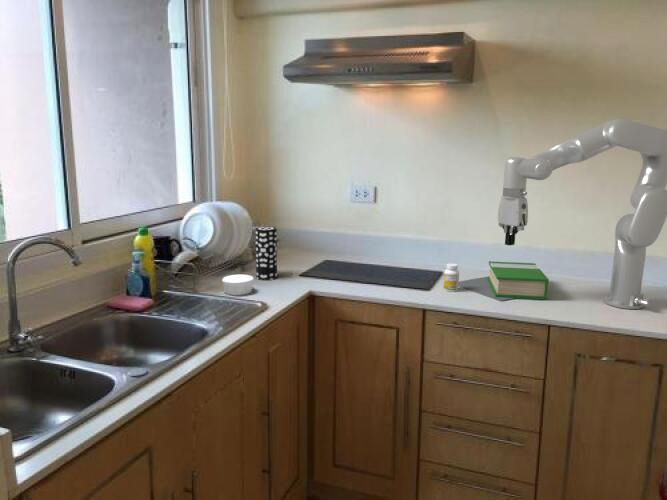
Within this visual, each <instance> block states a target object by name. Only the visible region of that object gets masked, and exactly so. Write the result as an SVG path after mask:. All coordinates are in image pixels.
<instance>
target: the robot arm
mask: <svg viewBox="0 0 667 500" xmlns="http://www.w3.org/2000/svg"><path fill="white" fill-rule="evenodd" d="M615 147H621V148H624V149H627V150H631V151H634V152H638V153H639V154H640V156H641V158H642V166H641V170H640V171H639V172H640V173H639V176H638V177H637V178H638V179H637V181H636V183H635V185H634V188H633V190H632V193H631V195H630V200H629V201H630V205H631V206H632V207H633V208H634V210H635V211H634V213H629V214H625V215H622V216H621V217H620V218H619V219H618V221H617V223H616V225H615V232H614V236H615V237H614V238H615V239H614V240H615V243H614V256H613V263H612V270H611V271H612V273H611V279H610V287H609V295H606V296H604V297H603V302H604V303H605V304H607V305H608V306H610V307H615V308H620V309H624V310H625V309H626V310H639V309H643V308H644V307H649V305H650V303H651V299H648V298H644V293H642V292H641V291H642V286H643V277H644V269H645V263H646V255H647V254H646V253H647V247H650V246H651V245H653V244H654V243H655V242H656V241H657V239H658V238H659V236H660V233H661V231H662V229H663V227H664V224H665V222H666V220H667V189H666V186H667V130H666V129H664V128H660V127H656V126H651V125H648V124H644V123H641V122H640V123H639V122H637V121H633V120H629V119H624V118H621V119H619V118H616V119H611V120H608V121H606V122H604V123H601V125H598V126H596V127H594V128H591V129H590V130H588V131H586V132H583V133H582V134H579V135H577V136H575V137H573V138H571V139H568V140H567V141H566V140H565V141H564V142H562V143H560V144H558V145H556V146H554V147H553V146H552V147H551V148H549V149H547V150H544V151H542V152H540V153H538V154H536V155H534V156H532V157H531V158H526V157H520V156H517V157H516V156H513V157H510V156H509V157H507V158H506V160H505V163H504V171H503V173H504V174H503V186H502V196H500V201H499V205H498V211H497V222H498V226H499V227H501V228H502V229H503V232H504V234H505V239H504V245H506V246H514V245H515V244H516V243H515V242H516V235H517V234H518V232H519V231H525V227H526V226H527V225H528V220H529V205H528V198H527V197H526V196H527V195H528V192H527V191H526V188H527V181H528V180H527V179H529V180H535V181H544V180H546V179H548V178H549V177H551V174H552V173H553V171H555V170H557V169H559V168H561V167H564V166H568V165H571V164H576V163H581V162H584V161H588V160H589V159H592V158H594V157H595V156H596V157H597V156H598V155H599V154H602V153H604V152H606V151H608V150H610V149H613V148H615Z"/></svg>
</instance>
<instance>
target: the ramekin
mask: <svg viewBox="0 0 667 500" xmlns="http://www.w3.org/2000/svg"><path fill="white" fill-rule="evenodd" d="M221 281H222V283H223V284H222V285H223V289H224V292H225V294H227V295H229V296H245V295H248V294H250V293H251V292H252V290H253V283H254V281H255V279H254V276H252V275H250V274H249V275H248V274H241V273H240V274H239V273H238V274H231V275H226V276H224V277H223V278H222V280H221Z"/></svg>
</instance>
